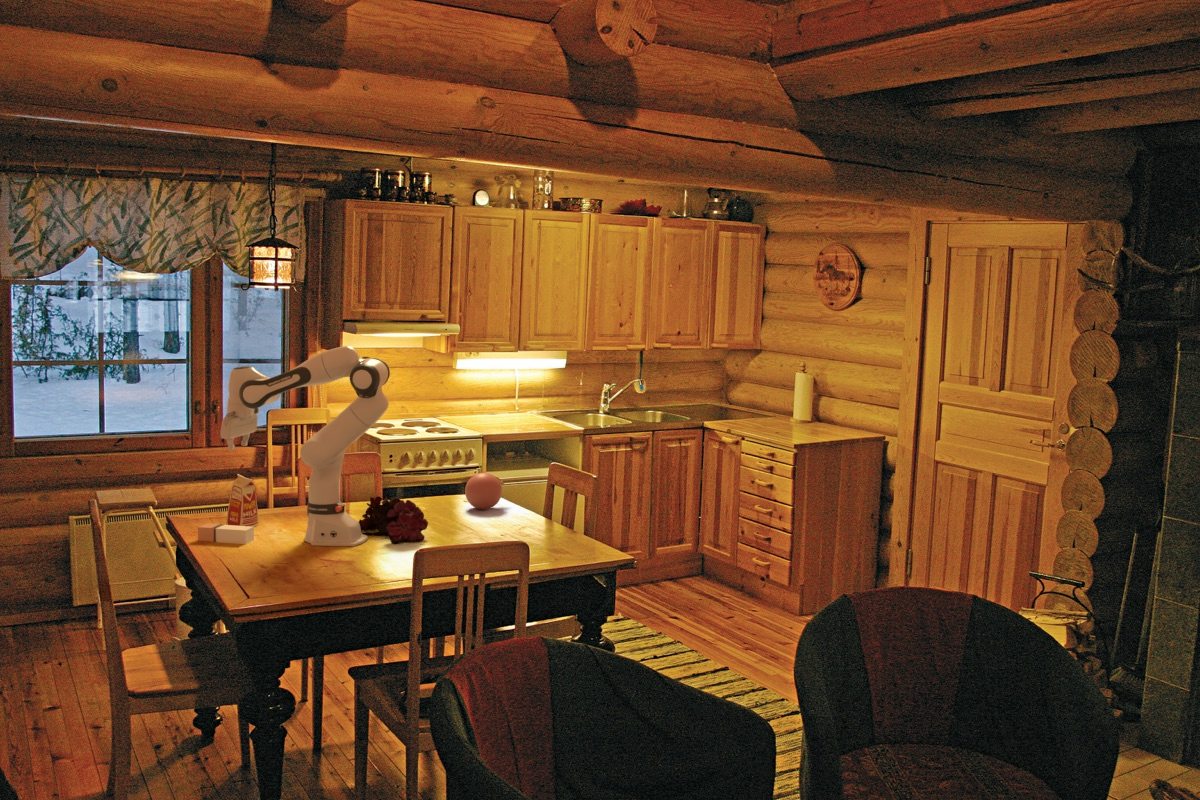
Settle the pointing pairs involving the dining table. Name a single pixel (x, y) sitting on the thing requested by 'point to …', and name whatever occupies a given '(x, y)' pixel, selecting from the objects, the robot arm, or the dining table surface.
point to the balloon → (483, 491)
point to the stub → (207, 532)
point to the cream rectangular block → (233, 534)
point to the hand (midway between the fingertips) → (237, 447)
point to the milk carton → (242, 503)
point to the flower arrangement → (394, 520)
